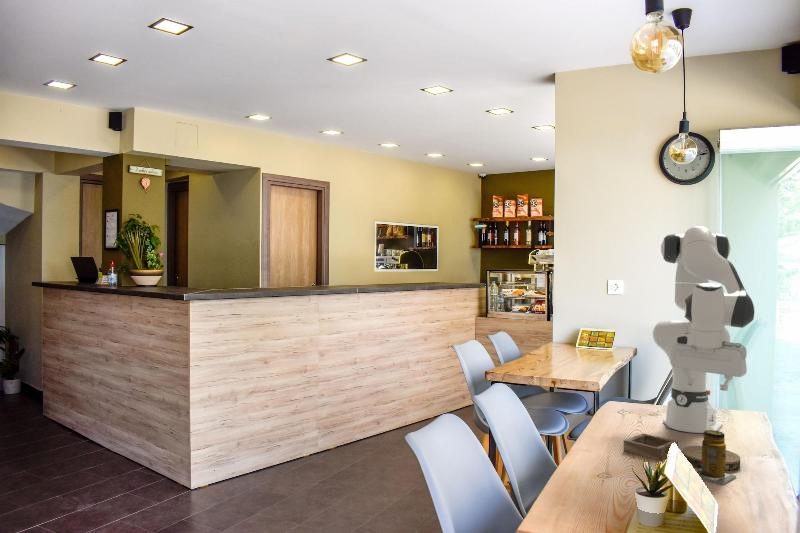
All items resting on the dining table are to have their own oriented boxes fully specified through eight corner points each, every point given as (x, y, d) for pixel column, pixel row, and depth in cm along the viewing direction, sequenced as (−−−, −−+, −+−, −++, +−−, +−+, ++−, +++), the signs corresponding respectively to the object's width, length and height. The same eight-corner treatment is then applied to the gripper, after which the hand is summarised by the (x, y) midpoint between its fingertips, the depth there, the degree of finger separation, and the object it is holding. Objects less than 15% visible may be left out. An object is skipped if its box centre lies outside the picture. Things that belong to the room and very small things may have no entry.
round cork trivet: (735, 459, 195) (735, 449, 195) (744, 475, 180) (745, 465, 180) (679, 453, 200) (679, 443, 200) (684, 468, 185) (684, 458, 185)
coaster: (703, 469, 184) (703, 467, 184) (735, 477, 177) (736, 475, 177) (689, 476, 178) (689, 474, 178) (722, 485, 171) (723, 482, 171)
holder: (643, 444, 208) (643, 433, 208) (677, 452, 200) (677, 441, 199) (623, 451, 200) (623, 440, 200) (659, 460, 191) (659, 449, 191)
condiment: (731, 475, 177) (732, 433, 177) (715, 481, 172) (716, 437, 172) (706, 468, 183) (707, 427, 183) (690, 473, 178) (691, 431, 178)
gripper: (750, 342, 175) (749, 391, 176) (677, 334, 190) (677, 380, 191) (742, 345, 171) (741, 395, 171) (668, 337, 186) (667, 383, 187)
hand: (706, 387), depth 181 cm, fingers open, 8 cm apart
